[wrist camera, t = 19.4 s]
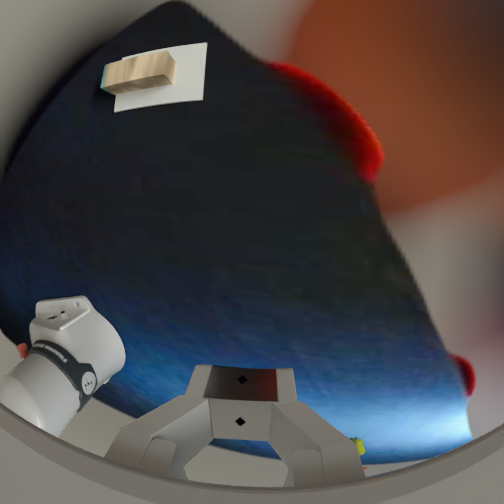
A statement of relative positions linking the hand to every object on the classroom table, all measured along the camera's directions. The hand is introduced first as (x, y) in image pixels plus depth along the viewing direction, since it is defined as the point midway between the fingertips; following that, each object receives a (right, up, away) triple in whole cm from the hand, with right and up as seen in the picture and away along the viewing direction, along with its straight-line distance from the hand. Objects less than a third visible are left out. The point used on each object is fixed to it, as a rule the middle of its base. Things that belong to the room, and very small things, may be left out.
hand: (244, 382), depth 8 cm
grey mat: (-13, +30, +24) cm, 41 cm away
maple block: (-11, +29, +21) cm, 38 cm away
